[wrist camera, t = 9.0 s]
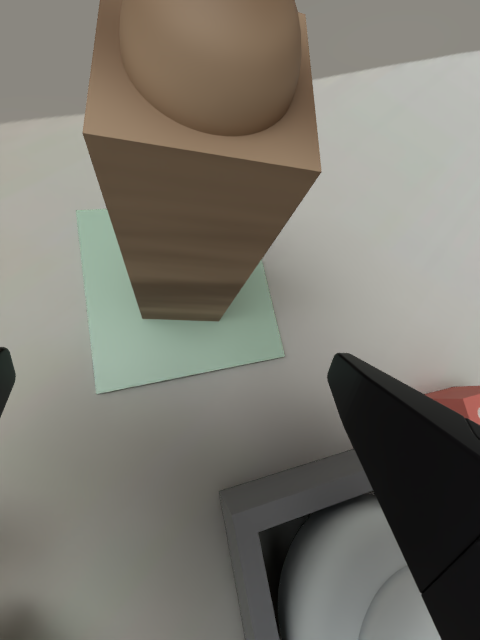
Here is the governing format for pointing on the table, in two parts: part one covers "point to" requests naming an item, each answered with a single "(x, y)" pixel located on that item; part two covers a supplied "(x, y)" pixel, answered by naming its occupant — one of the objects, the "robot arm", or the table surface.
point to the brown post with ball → (199, 142)
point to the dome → (350, 580)
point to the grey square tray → (274, 509)
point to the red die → (460, 400)
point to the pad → (163, 322)
